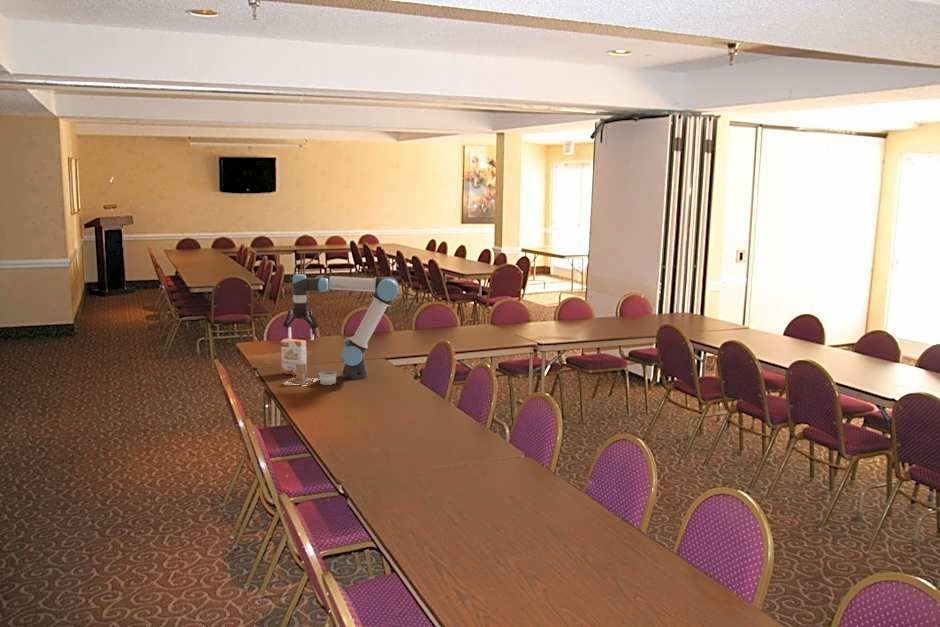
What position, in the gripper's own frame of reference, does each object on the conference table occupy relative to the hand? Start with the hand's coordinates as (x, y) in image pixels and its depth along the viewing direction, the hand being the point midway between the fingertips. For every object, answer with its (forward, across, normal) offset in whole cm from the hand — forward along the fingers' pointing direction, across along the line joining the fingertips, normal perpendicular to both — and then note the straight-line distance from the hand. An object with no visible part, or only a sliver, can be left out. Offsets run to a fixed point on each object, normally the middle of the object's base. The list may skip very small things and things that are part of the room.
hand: (301, 339), depth 436 cm
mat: (+25, 0, 0) cm, 25 cm away
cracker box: (+25, -12, +16) cm, 32 cm away
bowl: (+25, +16, 0) cm, 29 cm away
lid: (+24, 0, 0) cm, 24 cm away
